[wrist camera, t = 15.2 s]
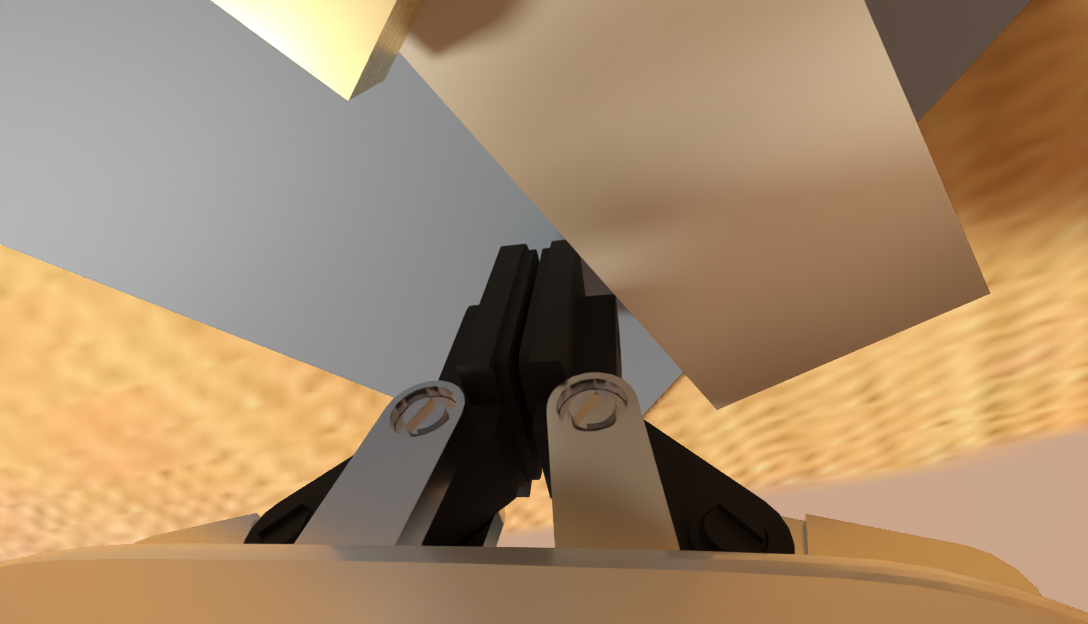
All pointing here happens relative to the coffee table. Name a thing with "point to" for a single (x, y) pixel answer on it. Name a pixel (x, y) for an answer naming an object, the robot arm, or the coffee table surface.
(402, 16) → the keeper
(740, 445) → the coffee table surface
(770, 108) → the link
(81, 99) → the board
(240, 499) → the coffee table surface
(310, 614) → the robot arm
